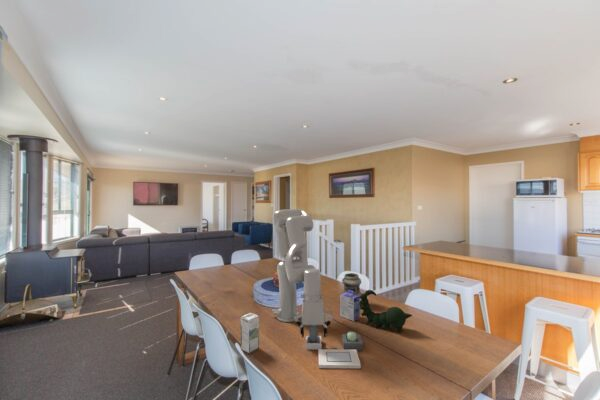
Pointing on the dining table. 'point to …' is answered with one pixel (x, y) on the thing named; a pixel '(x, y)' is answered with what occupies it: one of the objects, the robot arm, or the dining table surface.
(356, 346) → the button housing
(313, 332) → the marker
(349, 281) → the apothecary jar
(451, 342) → the dining table surface
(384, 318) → the toy figurine
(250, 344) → the syrup box
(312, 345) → the marker holder
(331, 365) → the picture board
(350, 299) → the ink cartridge box
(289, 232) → the robot arm
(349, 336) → the button
